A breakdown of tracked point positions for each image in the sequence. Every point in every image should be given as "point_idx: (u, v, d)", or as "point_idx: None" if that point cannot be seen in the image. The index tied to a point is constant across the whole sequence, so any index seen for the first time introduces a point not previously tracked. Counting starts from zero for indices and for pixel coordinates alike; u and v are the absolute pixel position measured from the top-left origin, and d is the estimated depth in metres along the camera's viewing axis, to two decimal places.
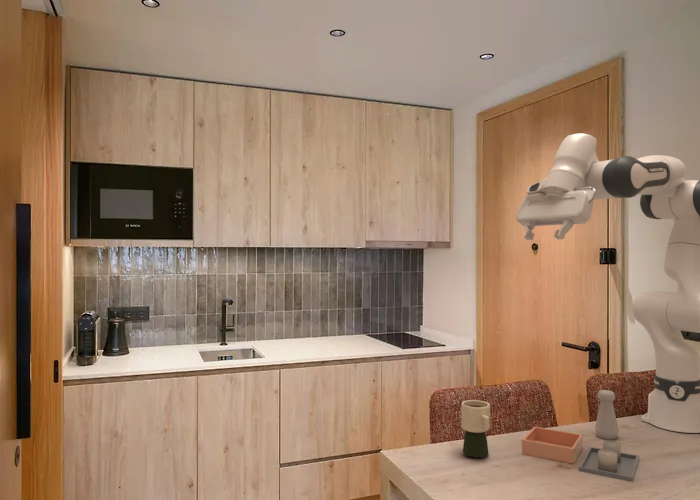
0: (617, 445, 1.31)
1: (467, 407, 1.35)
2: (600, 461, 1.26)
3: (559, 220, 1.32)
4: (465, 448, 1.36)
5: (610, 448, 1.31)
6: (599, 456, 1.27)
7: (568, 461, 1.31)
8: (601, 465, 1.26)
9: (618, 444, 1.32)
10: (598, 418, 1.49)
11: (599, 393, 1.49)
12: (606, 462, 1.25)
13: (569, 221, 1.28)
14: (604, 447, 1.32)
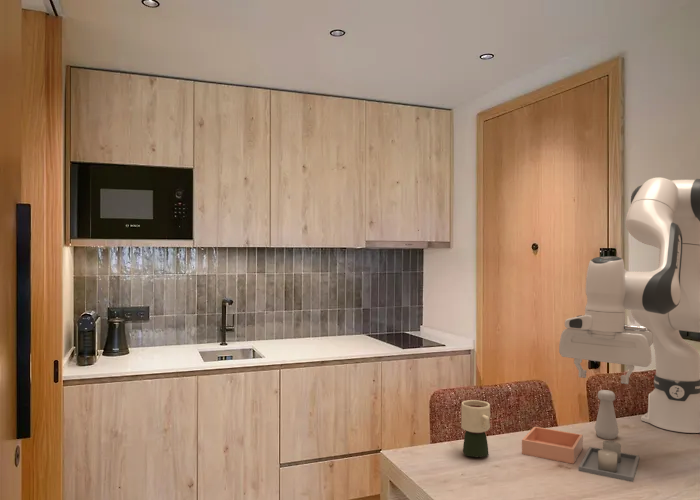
0: (617, 445, 1.31)
1: (467, 407, 1.35)
2: (600, 461, 1.26)
3: None
4: (465, 448, 1.36)
5: (610, 448, 1.31)
6: (599, 456, 1.27)
7: (568, 461, 1.31)
8: (601, 465, 1.26)
9: (618, 444, 1.32)
10: (598, 418, 1.49)
11: (599, 393, 1.49)
12: (606, 462, 1.25)
13: (633, 366, 1.28)
14: (604, 447, 1.32)
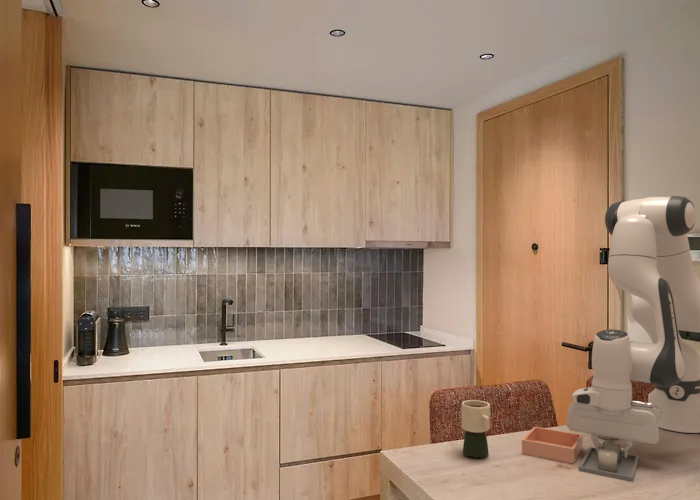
0: (617, 445, 1.31)
1: (467, 407, 1.35)
2: (600, 461, 1.26)
3: None
4: (465, 448, 1.36)
5: (610, 448, 1.31)
6: (599, 456, 1.27)
7: (568, 461, 1.31)
8: (601, 465, 1.26)
9: (618, 444, 1.32)
10: None
11: None
12: (606, 462, 1.25)
13: (632, 441, 1.30)
14: (604, 447, 1.32)
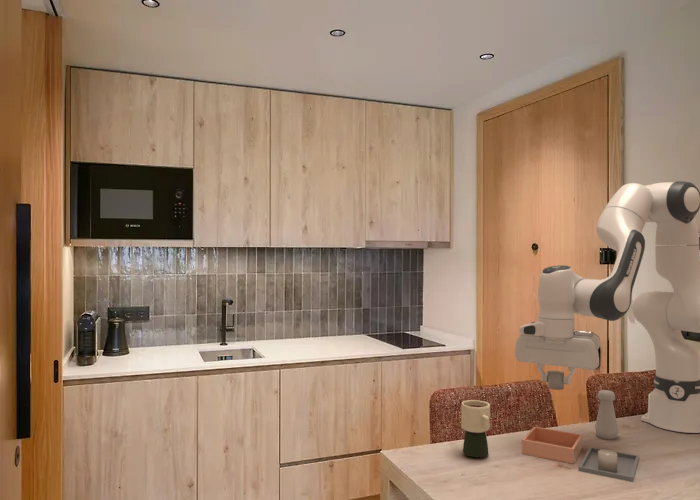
0: (561, 373, 1.39)
1: (467, 407, 1.35)
2: (600, 461, 1.26)
3: None
4: (465, 448, 1.36)
5: (554, 375, 1.39)
6: (599, 456, 1.27)
7: (568, 461, 1.31)
8: (601, 465, 1.26)
9: (562, 372, 1.40)
10: (598, 418, 1.49)
11: (599, 393, 1.49)
12: (606, 462, 1.25)
13: (574, 368, 1.38)
14: (548, 375, 1.40)
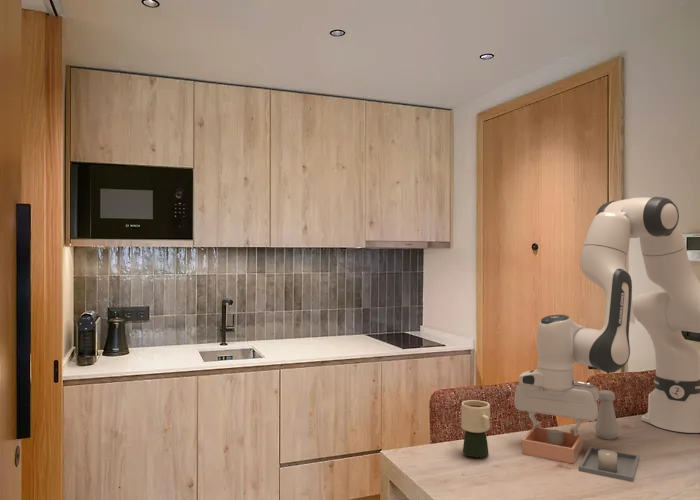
0: (560, 433, 1.39)
1: (467, 407, 1.35)
2: (600, 461, 1.26)
3: None
4: (465, 448, 1.36)
5: (553, 436, 1.39)
6: (599, 456, 1.27)
7: (568, 461, 1.31)
8: (601, 465, 1.26)
9: (561, 432, 1.40)
10: (598, 418, 1.49)
11: (599, 393, 1.49)
12: (606, 462, 1.25)
13: (581, 420, 1.37)
14: (548, 435, 1.40)
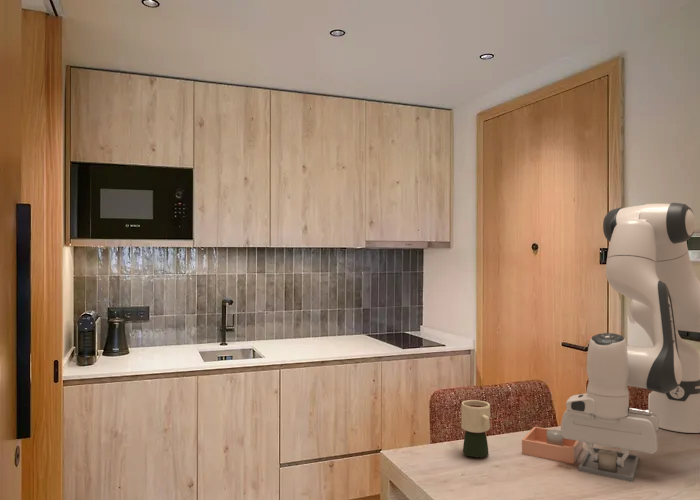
0: (560, 434, 1.39)
1: (467, 407, 1.35)
2: (600, 461, 1.26)
3: None
4: (465, 448, 1.36)
5: (553, 436, 1.39)
6: (599, 456, 1.27)
7: (568, 461, 1.31)
8: (601, 465, 1.26)
9: None
10: None
11: None
12: (606, 462, 1.25)
13: (629, 450, 1.24)
14: (548, 435, 1.40)
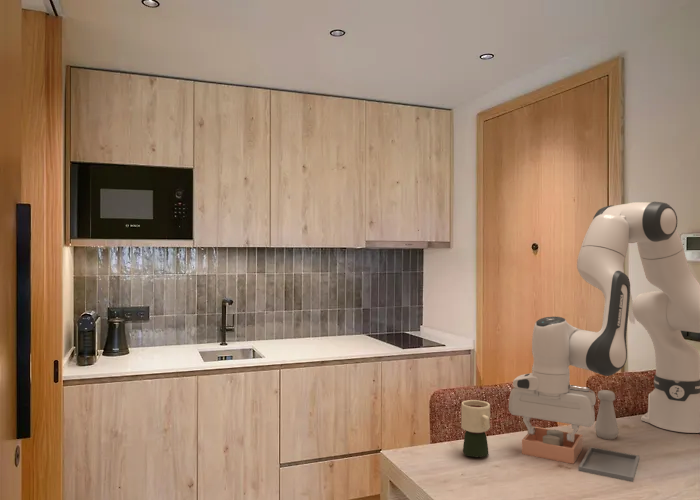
0: (560, 434, 1.39)
1: (467, 407, 1.35)
2: None
3: None
4: (465, 448, 1.36)
5: None
6: (543, 441, 1.36)
7: (568, 461, 1.31)
8: None
9: (561, 433, 1.40)
10: (598, 418, 1.49)
11: (599, 393, 1.49)
12: None
13: (578, 426, 1.33)
14: None
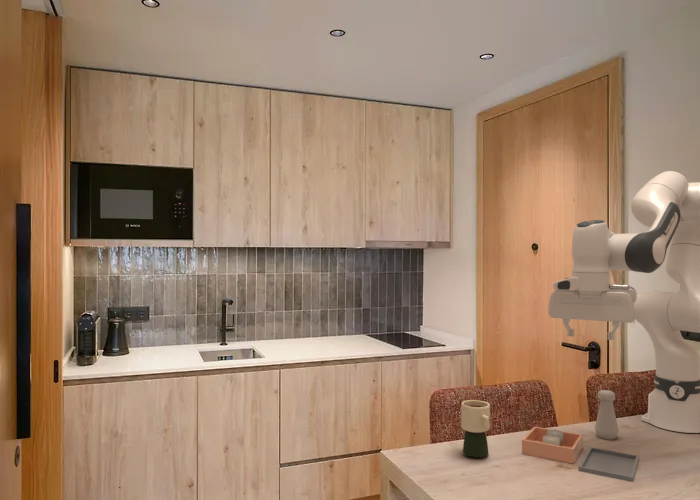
0: (560, 434, 1.39)
1: (467, 407, 1.35)
2: None
3: None
4: (465, 448, 1.36)
5: None
6: (543, 441, 1.36)
7: (568, 461, 1.31)
8: None
9: (561, 433, 1.40)
10: (598, 418, 1.49)
11: (599, 393, 1.49)
12: None
13: (618, 323, 1.35)
14: None
